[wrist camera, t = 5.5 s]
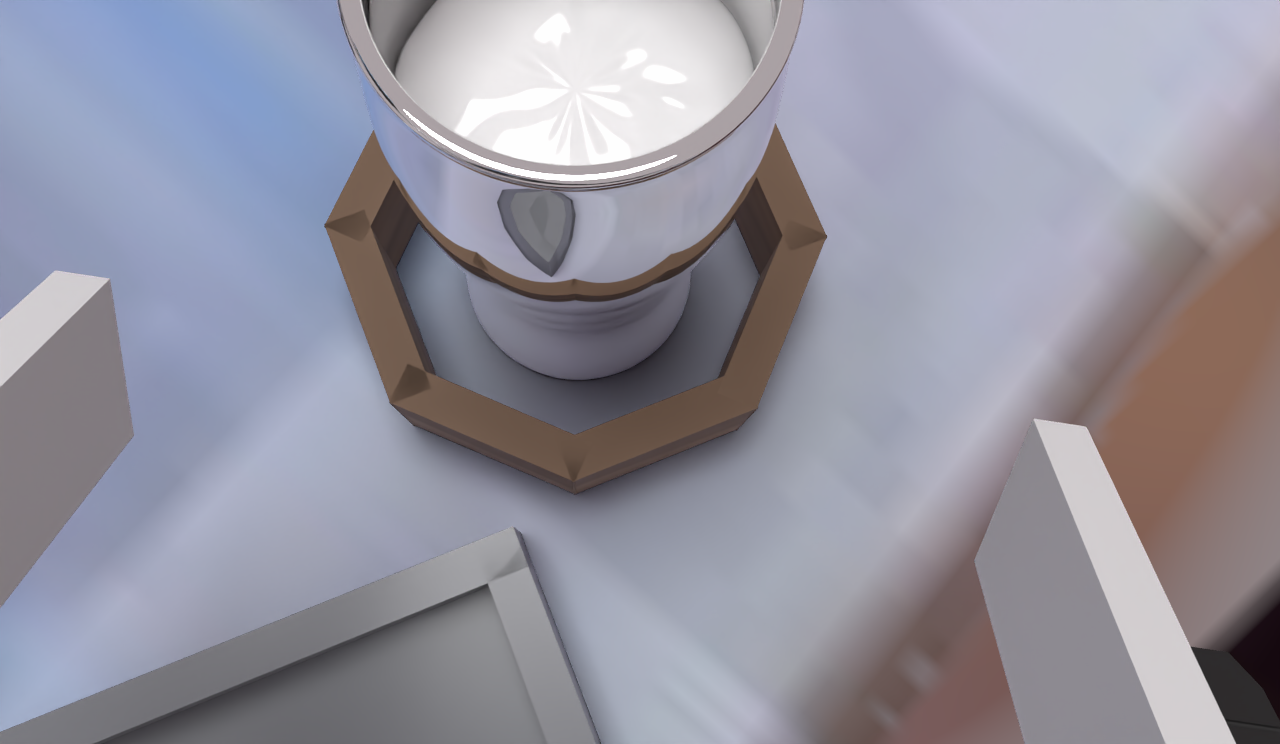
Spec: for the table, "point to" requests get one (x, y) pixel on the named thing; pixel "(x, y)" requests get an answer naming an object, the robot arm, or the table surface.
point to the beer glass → (574, 153)
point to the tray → (363, 670)
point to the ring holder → (368, 256)
